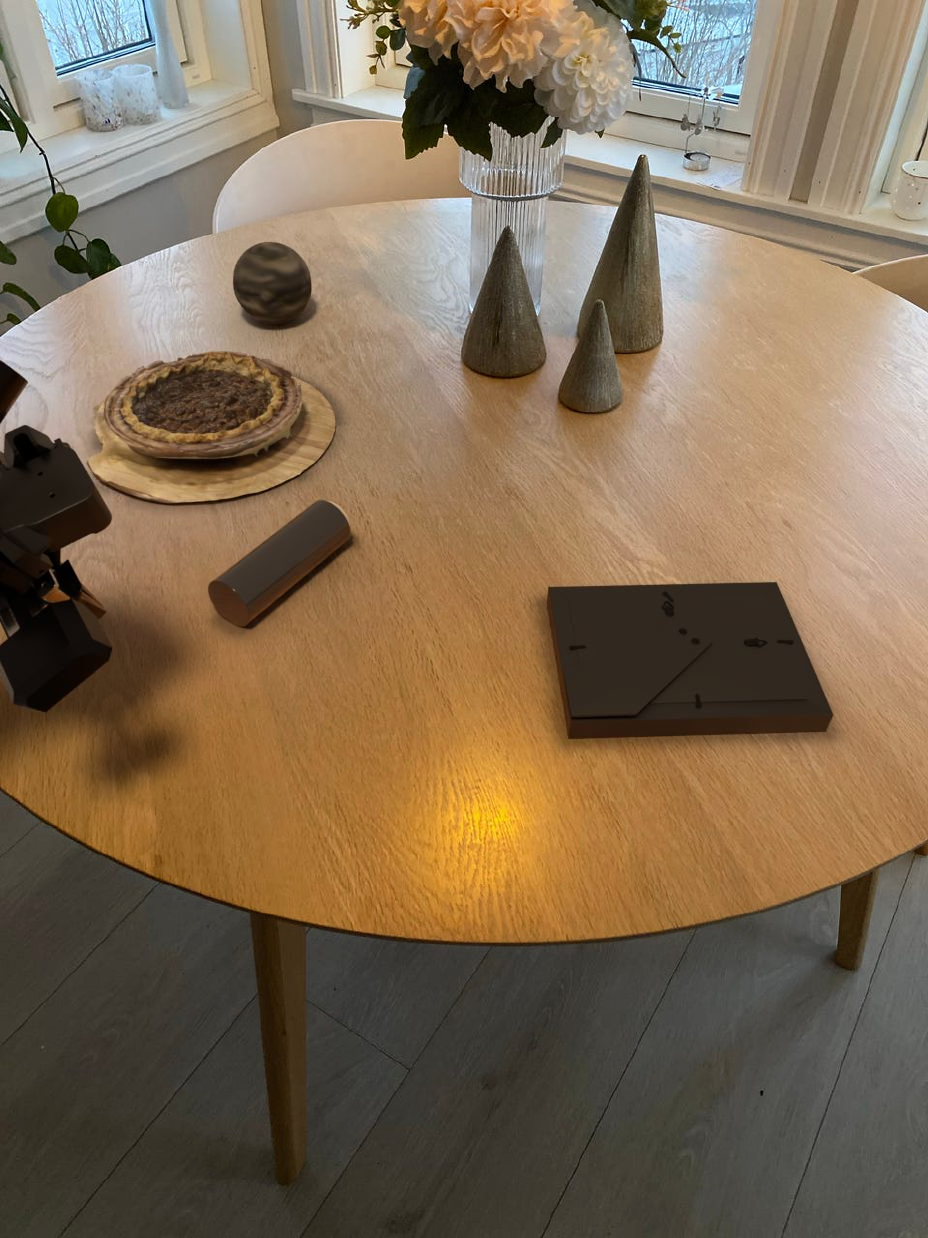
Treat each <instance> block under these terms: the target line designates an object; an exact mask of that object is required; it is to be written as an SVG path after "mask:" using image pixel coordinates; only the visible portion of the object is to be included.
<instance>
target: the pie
mask: <svg viewBox="0 0 928 1238" xmlns="http://www.w3.org/2000/svg"><path fill="white" fill-rule="evenodd" d="M92 412H93V413H94V415H95V416H94V421H93V422H92V424H94V425H93V428H94V429H93V430H96V431H95V433H96V436H97V437H98V438H97V440H98V441H99V443H100V444H101V445H102V447H101V448H102V449H101V451H100V452H97V453H96V454H93V455H92V456H90V457H87V459H86V466H87V467H88V469H89V470H90V471H91V473H93V475H94V476H95V477H96V479H98V481H100V482H103V483H105V484H107V485H109V486H110V487H113V488H114V489H117V490H119V491H120V492H122V493H123V492H124V493H126V494H128V495H132V496H135V497H136V498H139V499H144V500H148V501H153V502H156V503H163V504H177V503H193V502H205V501H207V502H208V501H218V500H224V499H225V500H227V499H233V498H236V497H240V496H243V495H248V494H255V493H260V492H262V491H265V490H268V489H270V488H273V487H275V486H278V485H280V484H283V483H284V482H286V481H288V480H290V479H291V480H292V479H293V478H295V477H296V476H298V475H301V473H302V472H304V471H305V470H306V469H308V468H309V467H311V466H312V465H313V464H315V463H316V462H317V461H318V460H319V459H320V457H321V456H322V455H323V454H324V453H325V451H326V450H327V448H328V447H329V445H330V444H331V442H332V440H333V438H334V434H335V431H336V423H337V422H336V414H335V412H334V409H333V408H332V405H331V404H330V402H329V401H328V399H327V398H326V397H325V396H324V395H323V393H322V392H320V391H319V390H318V389H316V387H314V386H312V385H311V384H309V383H308V382H306V381H303V380H301V379H300V378H298V377H295V376H294V375H293V373H292V372H291V370H289V369H287V368H286V367H285V366H284V365H280V364H279V363H277V362H275V361H273V360H271V359H269V358H268V359H267V358H260V357H256V356H255V355H251V354H250V355H248V354H247V353H244V352H241V351H230V350H218V351H216V350H211V351H206V352H201V353H192V354H188V355H187V356H186V357H185V358H183V357H177V359H176V360H173V361H168V362H164V360H155V361H153V362H152V363H149V364H148V365H146V366H144V365H142V366H140V367H138V368H137V369H136V370H135V371H132V373H131V375H130V374H129V375H126V376H125V377H123V378H121V379H120V381H119V382H118V383H117V384H116V385H115V386H114V387H113V389H112V390H111V391H110V392H109V393H108V394H107V396H106V397H105V398H104V400H102V401H100V403H99V404H97V405H95V406H94V407H93V408H92Z"/></svg>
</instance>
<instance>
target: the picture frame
mask: <svg viewBox="0 0 928 1238" xmlns="http://www.w3.org/2000/svg"><path fill="white" fill-rule="evenodd" d="M547 588H548V589H547V596H546V597H547V598H546V609H547V613H548V621H549V626H550V630H551V631H550V632H551V638H552V644H553V650H554V651H553V652H554V657H555V664H556V669H557V670H556V671H557V676H558V683H559V689H560V695H561V701H562V707H563V713H564V719H565V725H566V732H567V738H568V740H569V739H599V738H600V739H601V738H602V739H604V738H636V737H670V736H676V737H677V736H704V735H705V736H707V735H741V734H742V735H743V734H744V735H745V734H746V735H747V734H776V733H778V734H779V733H782V734H783V733H809V732H810V733H811V732H812V733H813V732H814V733H815V732H816V733H817V732H827V731H828V729H829V725H830V724H831V721H832V719H833V716H834V713H833V710H832V707H831V705H830V703H829V701H828V699H827V696H826V693H825V692H824V689H823V687H822V685H821V682H820V680H819V677H818V675H817V673H816V670H815V668H814V666H813V663H812V661H811V658H810V656H809V654H808V652H807V650H806V647H805V645H804V642H803V640H802V638H801V635H800V633H799V630H798V629H797V626H796V623H795V621H794V619H793V616H792V614H791V612H790V609H789V608H788V605H787V603H786V600H785V598H784V596H783V593H782V591H781V588H780V587H779V584H778V581H762V582H761V581H759V582H758V581H757V582H755V581H753V582H711V583H709V582H708V583H707V582H706V583H669V584H668V583H667V584H665V583H661V584H659V583H658V584H621V585H620V584H618V585H616V584H615V585H612V584H611V585H573V586H570V585H569V586H568V585H567V586H565V585H564V586H548V587H547Z"/></svg>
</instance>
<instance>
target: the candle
mask: <svg viewBox="0 0 928 1238" xmlns="http://www.w3.org/2000/svg"><path fill="white" fill-rule="evenodd" d="M351 530H352V523H351V520H350V518H349V515H348V514H347V513H346V511H345V510H344V509H343V508H342V507H341V506H340V505H339V504H337V502H334V501H331V500H325V499H317V500H315V501H314V502H312V503H311V504H310V505H309V506H306V508H305V509H303V510H302V511H301V512H299V513H298V514H297V515H295V516H294V517H293V518H291V519H290V520H289V521H288V522H286V523H285V524H284V525H283V526H281V527H280V528H279V529H277V530H276V531H275V532H274V533H272V534H270V535H269V536H268V537H267V538H266V539H265V540H263V541H261V543H259V544H258V545H257V546H255V547H254V548H253V549H252V550H250V551H249V552H247V553H246V554H245V555H244V556H243V557H241V558H239V560H237V561H235V562H234V563H233V564H232V565H230V566H229V567H228V568H227V569H225V570H224V571H223V572H222V573H220V574H219V575H218V576H216V577H215V578H213V579H212V580H211V581H210V582H209V583H208V585H207V594H208V596H209V599H210V602H211V603H212V605H213V607H214V609H216V611H217V612H218V613H219V614H220V615H221V616H222V618H224V619H225V620H226V621H228V622H229V623H230V624H233V625H234V626H238V627H246V626H247V625H249V624H250V623H251V622H252V621H253V620H255V619H256V618H257V617H258V616H259V615H261V614H262V613H263V612H264V611H265V610H266V609H268V608H269V607H270V606H271V605H273V604H274V603H275V602H276V601H277V600H279V599H280V598H281V597H282V596H283V595H285V594H286V593H287V592H288V591H289V590H290V589H292V588H293V587H294V586H295V585H296V584H298V583H299V582H300V581H301V580H303V579H304V578H305V577H307V575H309V574H310V573H311V572H312V571H313V570H315V569H316V568H317V567H318V566H319V565H320V564H322V563H323V562H324V561H325V560H326V559H327V558H329V557H331V555H333V553H335V552H336V551H337V550H338V549H340V548H341V547H343V545H345V544H346V543H347V542H348V541H349V540H350V537H351V532H352V531H351Z"/></svg>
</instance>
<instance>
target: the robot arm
mask: <svg viewBox="0 0 928 1238" xmlns="http://www.w3.org/2000/svg"><path fill="white" fill-rule="evenodd" d="M28 384H29V381H28V380H27V379H26V378H25V377H24V376H23V375H22V374H20V373H19V372H18V371H16V369H14V368H13V367H11V366H10V365H8V364H7V363H6V362H4V361H3V360H1V359H0V425H1V424H2V423H3V421H4V420H5V418H6V417H7V416H8V414H9V412H10V410H11V409H12V408H13V406H14V405H15V403H16V402H17V400H18V399H19V397H20V396H21V394H22V393H23V391H24V390H25V388H26V387H27V386H28ZM3 438H4V439H3V440H4V442H3V451H1V450H0V625H1V627H2V629H3V631H4V634H5V637H6V638H7V639H5V640H4V641H3V642H2V643H1V644H0V678H1V680H2V683H3V684H4V687H5V689H6V691H7V694H8V696H9V698H10V700H11V703H12V705H13V706H17V707H20V708H23V709H26V710H30V711H32V712H37V713H44V714H46V713H48V712H49V711H50V710H51V709H52V708H54V707H55V706H56V705H58V703H60V702H62V700H64V699H65V698H66V697H67V696H68V695H70V694H71V693H72V692H73V691H74V690H76V689H77V688H78V687H79V686H80V685H81V684H83V683H84V682H86V680H88V679H89V678H90V677H92V675H94V674H95V673H96V672H97V671H98V670H100V669H101V668H102V667H104V665H106V664H107V663H108V662H110V660H111V656H112V652H113V646H112V644H111V642H110V639H109V638H108V636H107V634H106V632H105V630H104V628H103V626H102V625H101V622H100V619H101V618H102V617H104V616H105V615H106V613H107V611H106V609H105V608H104V606H103V603H102V602H101V601H100V600H99V599H97V597H96V596H95V595H94V594H93V593H92V592H91V591H90V590H89V589H88V588H87V587H86V586H85V585H84V584H83V583H82V582H81V581H80V579H79V577H78V575H77V573H76V570H75V568H74V567H73V565H72V563H71V562H70V560H69V559H65V561H63V562H62V560H61V559H62V554H61V553H62V549H64V548H65V547H67V546H70V545H72V544H74V543H76V542H77V541H80V540H82V539H83V538H86V537H88V536H90V535H94V534H95V535H97V534H99V533H101V532H103V531H105V530H106V529H107V528H109V526H110V525H111V523H112V521H113V515H112V512H111V510H110V509H109V507H108V505H107V504H106V502H105V499H104V498H103V497H102V494H101V493H100V491H99V489H98V487H97V485H96V483H94V481H93V479H92V478H91V476H90V473H89V472H88V470H87V469H86V467H85V465H84V463H83V462H82V460H81V458H80V456H79V455H78V454H77V452H76V450H75V449H73V448H72V447H71V445H70V444H69V443H68V442H66V441H62V439H61V437H58V438H56V439H54V440H53V441H52V439H51V438H50V436H48V434H45V433H44V432H42V431H40V430H38V429H36V428H34V427H31V426H30V425H28V424H23V425H21V426H18V427H16V428H14V429H12V430H10V431H7V432H6V433H5V434H4V437H3Z"/></svg>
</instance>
